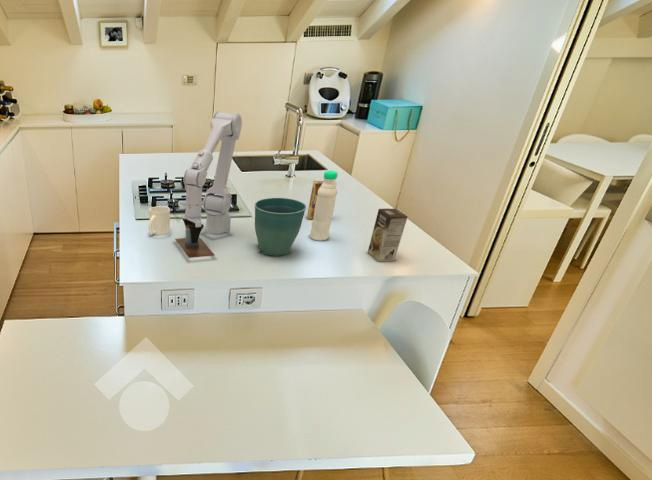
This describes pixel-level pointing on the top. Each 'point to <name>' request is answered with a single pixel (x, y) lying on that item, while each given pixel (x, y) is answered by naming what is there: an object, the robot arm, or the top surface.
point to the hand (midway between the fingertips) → (192, 239)
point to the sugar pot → (189, 238)
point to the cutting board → (195, 249)
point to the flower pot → (277, 224)
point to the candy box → (313, 198)
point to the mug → (159, 220)
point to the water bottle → (324, 207)
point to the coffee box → (387, 234)
